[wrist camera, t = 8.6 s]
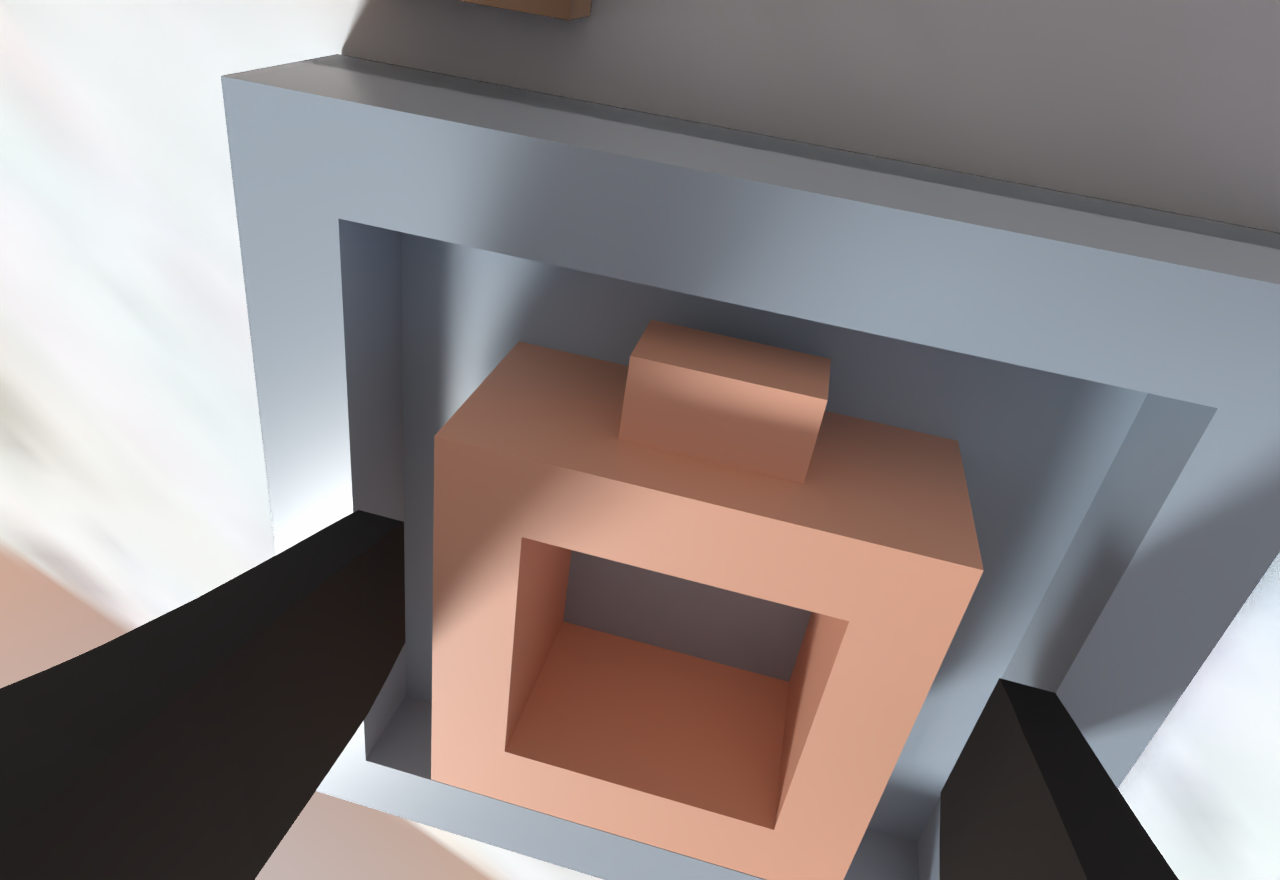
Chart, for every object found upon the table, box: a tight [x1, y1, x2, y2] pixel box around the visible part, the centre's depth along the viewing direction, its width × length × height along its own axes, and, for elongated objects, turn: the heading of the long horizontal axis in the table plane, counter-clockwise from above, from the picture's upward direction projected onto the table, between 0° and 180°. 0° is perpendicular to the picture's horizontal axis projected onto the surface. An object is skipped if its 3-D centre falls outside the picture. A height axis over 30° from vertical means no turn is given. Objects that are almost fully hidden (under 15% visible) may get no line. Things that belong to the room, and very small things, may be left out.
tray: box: [221, 54, 1280, 880], centre depth 12 cm, size 11×11×2 cm
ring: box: [431, 320, 984, 880], centre depth 10 cm, size 6×6×2 cm
